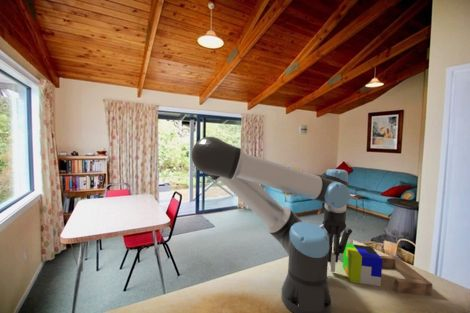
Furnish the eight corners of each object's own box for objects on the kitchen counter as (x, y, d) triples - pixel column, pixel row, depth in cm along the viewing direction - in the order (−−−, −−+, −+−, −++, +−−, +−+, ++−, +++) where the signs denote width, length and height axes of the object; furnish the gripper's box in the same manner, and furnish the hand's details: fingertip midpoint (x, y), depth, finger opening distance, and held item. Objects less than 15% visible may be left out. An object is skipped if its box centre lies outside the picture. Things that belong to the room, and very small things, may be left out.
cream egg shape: (339, 262, 93) (341, 241, 93) (334, 255, 99) (335, 236, 99) (354, 263, 93) (355, 242, 92) (347, 256, 99) (349, 236, 98)
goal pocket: (397, 293, 75) (398, 281, 74) (368, 264, 93) (369, 255, 92) (431, 295, 74) (432, 284, 74) (395, 265, 92) (396, 256, 92)
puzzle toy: (380, 286, 78) (382, 259, 78) (350, 281, 80) (352, 255, 80) (369, 270, 88) (371, 246, 87) (342, 266, 90) (344, 243, 89)
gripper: (321, 212, 80) (317, 274, 81) (357, 213, 79) (353, 276, 81) (314, 206, 87) (311, 263, 89) (348, 207, 87) (344, 265, 88)
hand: (331, 269), depth 85 cm, fingers closed
